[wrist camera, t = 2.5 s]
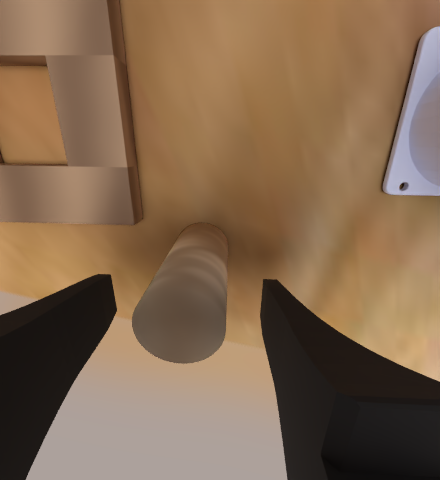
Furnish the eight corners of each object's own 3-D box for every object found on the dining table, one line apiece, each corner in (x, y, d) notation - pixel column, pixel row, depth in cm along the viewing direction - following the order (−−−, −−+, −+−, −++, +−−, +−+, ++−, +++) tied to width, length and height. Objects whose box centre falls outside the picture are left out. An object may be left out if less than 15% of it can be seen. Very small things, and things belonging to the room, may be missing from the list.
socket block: (117, -18, 12) (101, -41, 10) (142, 218, 16) (134, 225, 15) (-115, -15, 12) (-160, -36, 11) (-29, 214, 16) (-53, 220, 15)
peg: (228, 223, 16) (226, 289, 8) (227, 270, 17) (224, 365, 10) (175, 222, 16) (126, 286, 8) (178, 269, 17) (137, 361, 10)
